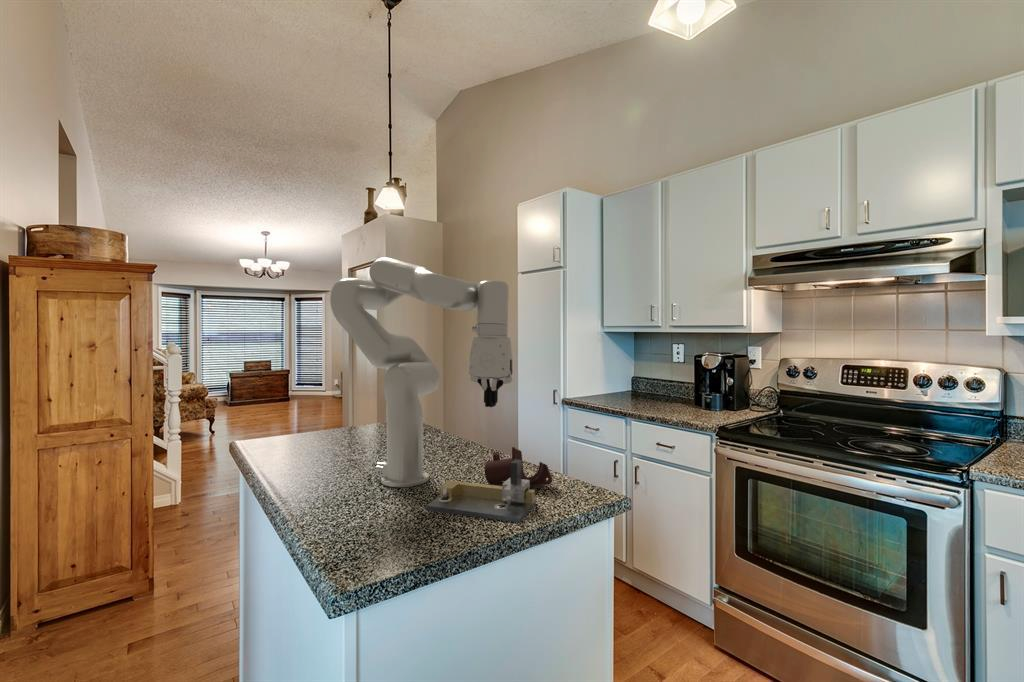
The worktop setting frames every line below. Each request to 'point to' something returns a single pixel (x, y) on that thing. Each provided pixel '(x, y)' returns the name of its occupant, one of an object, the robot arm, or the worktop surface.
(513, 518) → the hole plate
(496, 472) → the bracket
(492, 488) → the beam
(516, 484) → the slider
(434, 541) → the worktop surface
